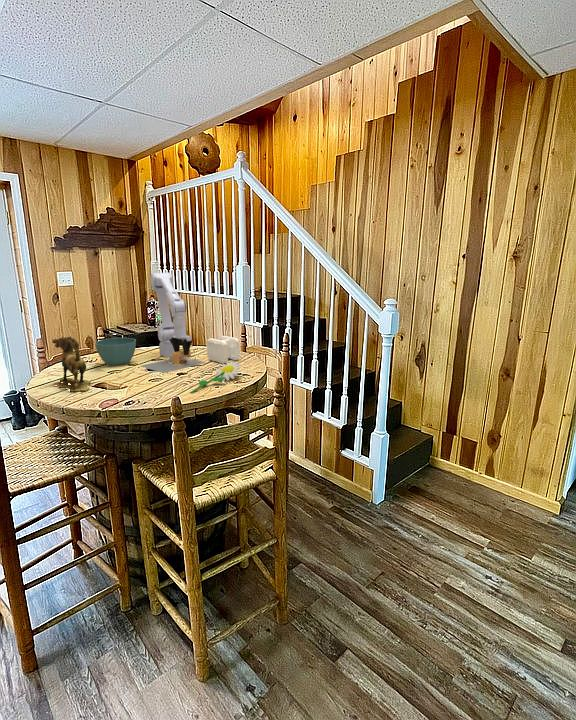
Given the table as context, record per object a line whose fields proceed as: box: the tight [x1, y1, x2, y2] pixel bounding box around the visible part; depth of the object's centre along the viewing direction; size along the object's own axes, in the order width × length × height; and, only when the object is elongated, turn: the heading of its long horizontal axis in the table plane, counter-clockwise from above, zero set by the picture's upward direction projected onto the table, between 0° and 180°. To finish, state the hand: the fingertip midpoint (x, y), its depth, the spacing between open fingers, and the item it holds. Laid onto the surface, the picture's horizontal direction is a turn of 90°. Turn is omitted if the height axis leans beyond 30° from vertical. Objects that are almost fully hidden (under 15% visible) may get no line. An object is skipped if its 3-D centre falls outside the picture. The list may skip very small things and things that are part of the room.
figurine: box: [51, 336, 92, 393], centre depth 167 cm, size 13×25×20 cm, turn 42°
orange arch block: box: [172, 349, 192, 365], centre depth 200 cm, size 4×8×6 cm, turn 139°
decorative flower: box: [189, 360, 242, 394], centre depth 171 cm, size 13×5×30 cm
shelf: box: [140, 354, 207, 374], centre depth 196 cm, size 20×24×5 cm
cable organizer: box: [206, 335, 240, 365], centre depth 207 cm, size 15×11×12 cm
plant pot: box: [94, 337, 137, 367], centre depth 199 cm, size 18×18×12 cm
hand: (181, 353), depth 199 cm, fingers open, 7 cm apart
